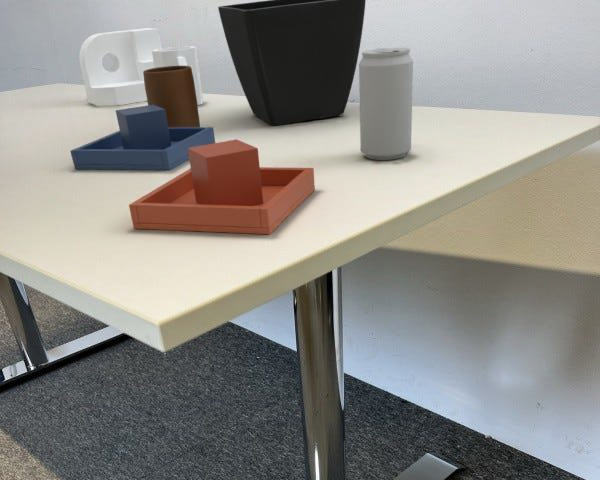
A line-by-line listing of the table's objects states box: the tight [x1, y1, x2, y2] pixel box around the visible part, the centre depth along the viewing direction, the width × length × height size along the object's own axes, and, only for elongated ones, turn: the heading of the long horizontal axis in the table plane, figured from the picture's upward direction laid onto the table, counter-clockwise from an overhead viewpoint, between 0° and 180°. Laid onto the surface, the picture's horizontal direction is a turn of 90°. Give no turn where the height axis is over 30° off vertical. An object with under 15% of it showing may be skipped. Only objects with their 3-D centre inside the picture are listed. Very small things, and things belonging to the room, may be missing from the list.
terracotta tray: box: [128, 166, 316, 235], centre depth 68 cm, size 15×15×2 cm
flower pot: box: [217, 0, 367, 126], centre depth 106 cm, size 19×19×17 cm
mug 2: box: [152, 45, 204, 106], centre depth 125 cm, size 12×9×10 cm
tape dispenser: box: [78, 27, 163, 107], centre depth 136 cm, size 16×10×13 cm, turn 120°
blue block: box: [115, 104, 171, 150], centre depth 91 cm, size 6×6×6 cm
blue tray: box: [70, 126, 216, 171], centre depth 92 cm, size 15×15×2 cm
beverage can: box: [358, 47, 414, 161], centre depth 80 cm, size 6×6×12 cm
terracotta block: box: [188, 139, 263, 206], centre depth 67 cm, size 6×6×6 cm
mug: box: [143, 66, 201, 127], centre depth 104 cm, size 12×8×9 cm, turn 23°
